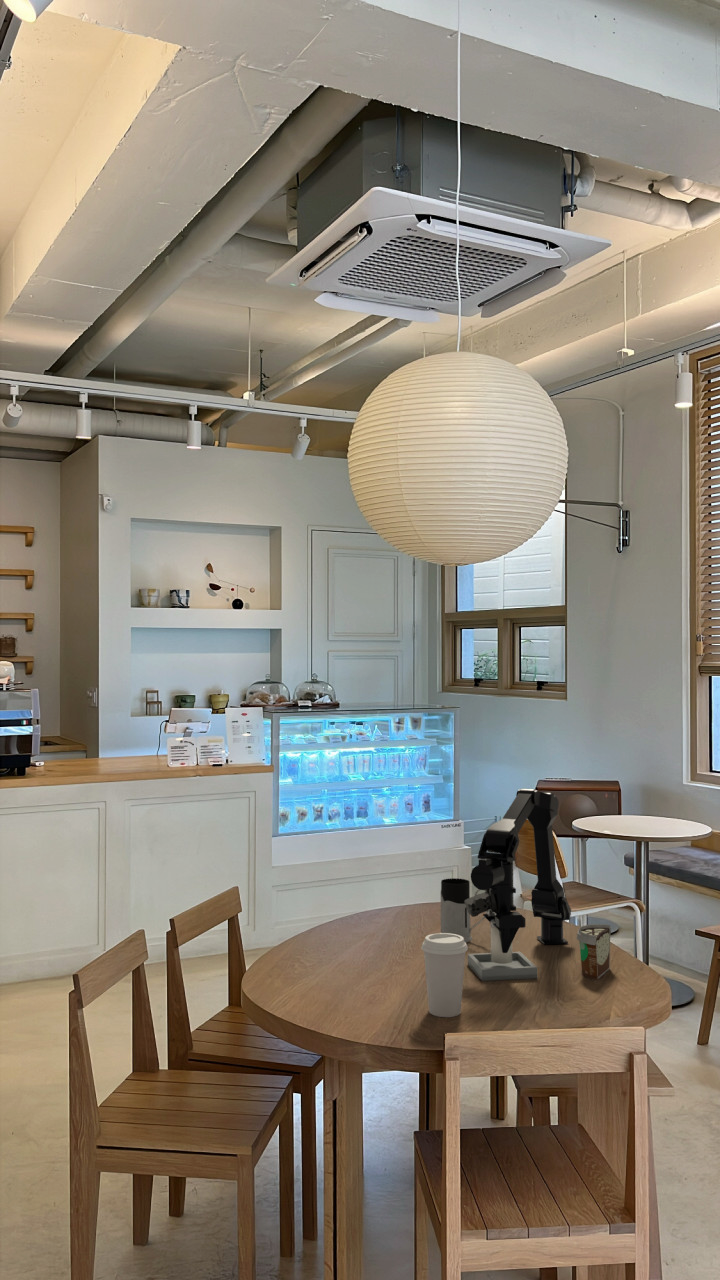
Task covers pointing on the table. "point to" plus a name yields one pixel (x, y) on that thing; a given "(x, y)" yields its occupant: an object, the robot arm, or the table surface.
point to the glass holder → (456, 908)
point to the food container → (594, 949)
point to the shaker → (498, 947)
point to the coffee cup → (444, 972)
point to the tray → (502, 967)
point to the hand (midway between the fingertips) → (501, 949)
